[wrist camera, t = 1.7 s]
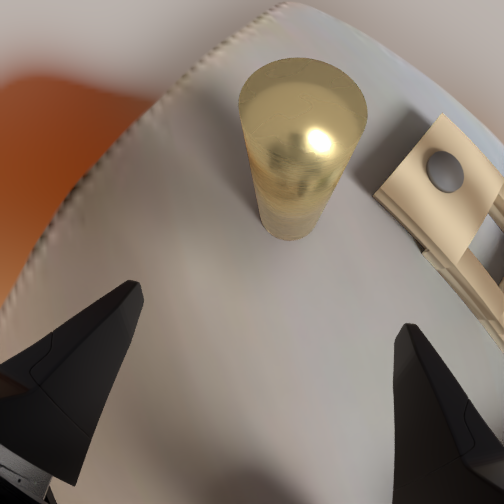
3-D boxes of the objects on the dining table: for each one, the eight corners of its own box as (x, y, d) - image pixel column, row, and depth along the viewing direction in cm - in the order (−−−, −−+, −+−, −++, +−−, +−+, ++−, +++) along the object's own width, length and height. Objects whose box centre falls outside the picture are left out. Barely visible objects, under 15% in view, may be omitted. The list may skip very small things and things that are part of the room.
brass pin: (275, 250, 23) (275, 182, 9) (249, 199, 24) (218, 82, 10) (328, 224, 23) (391, 132, 9) (301, 175, 24) (324, 46, 10)
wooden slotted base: (514, 370, 20) (538, 376, 16) (368, 200, 23) (382, 184, 20) (556, 290, 20) (578, 287, 17) (428, 128, 24) (445, 109, 20)
